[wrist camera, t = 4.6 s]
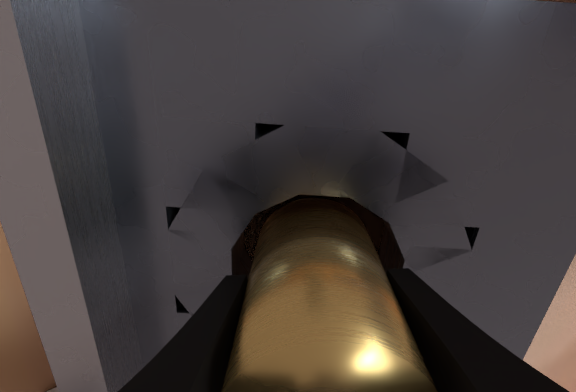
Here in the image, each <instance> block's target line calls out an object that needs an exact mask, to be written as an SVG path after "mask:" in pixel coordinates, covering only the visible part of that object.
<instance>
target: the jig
mask: <svg viewBox="0 0 576 392" xmlns="http://www.w3.org/2000/svg"><path fill="white" fill-rule="evenodd" d="M382 131H383V132H382ZM299 194H303V195H318V196H333V197H348V198H351V199H353V200H354V201H356V202H358V203H359V204H361V205H362V206H364V207H365V208H367V209H368V210H370V211H371V212H373V213H374V214H376V215H378V216H379V217H381V218H382V219H383V221H384V223H385V225H384V230H383V235H382V239H381V244H380V249H379V254H378V257H379V259H380V261H381V264H382V266H383V268H384V270H385V273H386V275H387V269H399V268H409V269H410V270H411V271H413V272H414V273H415V274H416V275H417V276H418V277H419V278H421V279H422V280H423V281H424V282H425V283H426V284H427V285H429V286H430V287H431V288H432V289H433V290H434V291H435V292H437V293H438V294H439V295H440V296H441V297H442V298H444V299H445V300H446V301H447V302H448V303H449V304H451V305H452V306H453V307H454V308H455V309H457V310H458V311H459V312H460V313H461V314H463V315H464V316H465V317H466V318H468V319H469V320H470V321H471V322H472V323H474V324H475V325H476V326H478V327H479V328H480V329H481V330H483V331H484V332H485V333H486V334H488V335H489V336H490V337H492V338H493V339H494V340H496V341H497V342H498V343H500V344H501V345H502V346H504V347H505V348H506V349H508V350H509V351H510V352H512V353H513V354H515V355H516V356H517V357H519V358H520V359H522V360H523V358H524V356H525V354H526V352H527V350H528V348H529V346H530V344H531V342H532V340H533V338H534V336H535V334H536V332H537V330H538V328H539V326H540V324H541V322H542V320H543V318H544V316H545V314H546V312H547V310H548V308H549V306H550V304H551V302H552V300H553V298H554V296H555V294H556V292H557V290H558V288H559V286H560V284H561V282H562V280H563V278H564V276H565V274H566V272H567V270H568V268H569V266H570V264H571V262H572V260H573V258H574V256H575V254H576V3H566V2H550V1H534V0H0V221H1V224H2V227H3V230H4V233H5V236H6V239H7V242H8V245H9V248H10V250H11V253H12V256H13V259H14V262H15V265H16V268H17V271H18V274H19V277H20V280H21V283H22V286H23V289H24V292H25V294H26V297H27V300H28V303H29V306H30V309H31V312H32V315H33V318H34V321H35V324H36V327H37V330H38V333H39V336H40V338H41V341H42V344H43V347H44V350H45V353H46V356H47V359H48V362H49V365H50V368H51V371H52V374H53V377H54V379H55V382H56V385H57V388H58V391H59V392H118V391H119V390H120V389H121V388H122V387H123V386H124V385H125V384H126V383H128V382H129V381H130V380H131V379H132V378H133V377H134V376H135V375H136V374H137V373H138V372H139V371H140V370H141V369H142V368H143V367H144V366H145V365H146V364H148V363H149V362H150V361H151V360H152V359H153V358H154V356H155V355H156V354H157V353H158V352H159V351H160V350H161V349H162V348H163V347H164V346H165V345H166V344H167V343H168V342H169V341H170V340H171V339H172V338H173V337H174V336H175V335H176V333H177V332H178V331H179V330H180V329H181V328H182V327H183V326H184V324H185V323H186V322H187V321H188V320H189V319H190V318H191V316H192V315H193V314H194V313H195V312H196V311H197V310H198V308H199V307H200V306H201V305H202V304H203V302H204V301H205V300H206V299H207V298H208V296H209V295H210V294H211V293H212V292H213V290H214V289H215V288H216V287H217V285H218V284H219V283H220V282H221V281H222V279H223V278H224V277H225V276H226V275H247V280H248V279H249V275H250V271H251V266H252V262H253V260H252V259H251V257H250V256H249V254H248V252H247V251H246V249H245V248H244V230H245V228H246V227H247V225H248V224H249V222H250V221H251V220H252V218H253V217H254V215H255V214H256V213H259V212H261V211H263V210H265V209H268V208H270V207H272V206H274V205H277V204H279V203H281V202H283V201H286V200H288V199H290V198H292V197H294V196H297V195H299Z"/></svg>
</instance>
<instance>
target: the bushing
mask: <svg viewBox="0 0 576 392" xmlns="http://www.w3.org/2000/svg"><path fill="white" fill-rule="evenodd" d="M221 392H438V391H437V389H436V387H435V384H434V382H433V380H432V378H431V375H430V373H429V371H428V368H427V366H426V364H425V362H424V359H423V357H422V355H421V353H420V350H419V348H418V346H417V343H416V341H415V339H414V337H413V334H412V332H411V330H410V327H409V325H408V323H407V321H406V318H405V316H404V314H403V312H402V309H401V307H400V305H399V302H398V300H397V298H396V296H395V293H394V291H393V289H392V286H391V284H390V282H389V280H388V277H387V275H386V273H385V270H384V268H383V266H382V264H381V261H380V259H379V257H378V255H377V252H376V250H375V248H374V245H373V243H372V241H371V239H370V236H369V234H368V232H367V229H366V227H365V226H364V224H363V222H362V221H361V219H360V218H359V217H358V216H357V215H356V214H355V213H354V212H353V211H352V210H351V209H349V208H348V207H346V206H344V205H343V204H340V203H338V202H336V201H332V200H329V199H323V198H305V199H300V200H296V201H293V202H290V203H288V204H286V205H284V206H282V207H281V208H279V209H278V210H276V211H275V212H274V213H273V214H272V215H271V216H270V217H269V218H268V219H267V220H266V222H265V223H264V225H263V227H262V229H261V231H260V234H259V237H258V241H257V246H256V250H255V254H254V258H253V262H252V266H251V271H250V275H249V279H248V283H247V287H246V291H245V296H244V300H243V304H242V308H241V312H240V316H239V321H238V325H237V329H236V333H235V337H234V341H233V346H232V350H231V354H230V358H229V362H228V366H227V371H226V375H225V379H224V383H223V387H222V391H221Z"/></svg>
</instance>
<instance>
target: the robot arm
mask: <svg viewBox="0 0 576 392" xmlns="http://www.w3.org/2000/svg"><path fill="white" fill-rule="evenodd" d="M387 277H388V280H389V282H390V284H391V286H392V289H393V291H394V293H395V296H396V298H397V300H398V302H399V305H400V307H401V309H402V312H403V314H404V316H405V318H406V321H407V323H408V325H409V327H410V330H411V332H412V334H413V337H414V339H415V341H416V343H417V346H418V348H419V350H420V353H421V355H422V357H423V359H424V362H425V364H426V366H427V368H428V371H429V373H430V375H431V378H432V380H433V382H434V384H435V387H436V389H437V391H438V392H569V391H567V390H566V389H564V388H563V387H561V386H560V385H558V384H557V383H555V382H554V381H552V380H551V379H549V378H548V377H546V376H545V375H543V374H542V373H540V372H539V371H537V370H536V369H534V368H533V367H532V366H530V365H529V364H527V363H526V362H524V361H523V360H522V359H520V358H519V357H517V356H516V355H515V354H513V353H512V352H510V351H509V350H508V349H506V348H505V347H504V346H502V345H501V344H500V343H498V342H497V341H496V340H494V339H493V338H492V337H490V336H489V335H488V334H486V333H485V332H484V331H483V330H481V329H480V328H479V327H478V326H476V325H475V324H474V323H472V322H471V321H470V320H469V319H468V318H466V317H465V316H464V315H463V314H461V313H460V312H459V311H458V310H457V309H455V308H454V307H453V306H452V305H451V304H449V303H448V302H447V301H446V300H445V299H444V298H442V297H441V296H440V295H439V294H438V293H437V292H435V291H434V290H433V289H432V288H431V287H430V286H429V285H427V284H426V283H425V282H424V281H423V280H422V279H421V278H419V277H418V276H417V275H416V274H415V273H414V272H413V271H411V270H410V269H409V268H399V269H387ZM247 283H248V280H247V275H226V276H225V277H224V278H223V279H222V281H221V282H220V283H219V284H218V285H217V287H216V288H215V289H214V290H213V292H212V293H211V294H210V295H209V296H208V298H207V299H206V300H205V301H204V302H203V304H202V305H201V306H200V307H199V308H198V310H197V311H196V312H195V313H194V314H193V315H192V316H191V318H190V319H189V320H188V321H187V322H186V323H185V324H184V326H183V327H182V328H181V329H180V330H179V331H178V332H177V333H176V335H175V336H174V337H173V338H172V339H171V340H170V341H169V342H168V343H167V344H166V345H165V346H164V347H163V348H162V349H161V350H160V351H159V352H158V353H157V354H156V355H155V356H154V358H153V359H152V360H151V361H150V362H149V363H148V364H146V365H145V366H144V367H143V368H142V369H141V370H140V371H139V372H138V373H137V374H136V375H135V376H134V377H133V378H132V379H131V380H130V381H129V382H128V383H126V384H125V385H124V386H123V387H122V388H121V389H120V390H119V391H118V392H221V391H222V387H223V383H224V379H225V375H226V371H227V366H228V362H229V358H230V354H231V350H232V346H233V341H234V337H235V333H236V329H237V325H238V321H239V316H240V312H241V308H242V304H243V300H244V296H245V291H246V287H247Z"/></svg>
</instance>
